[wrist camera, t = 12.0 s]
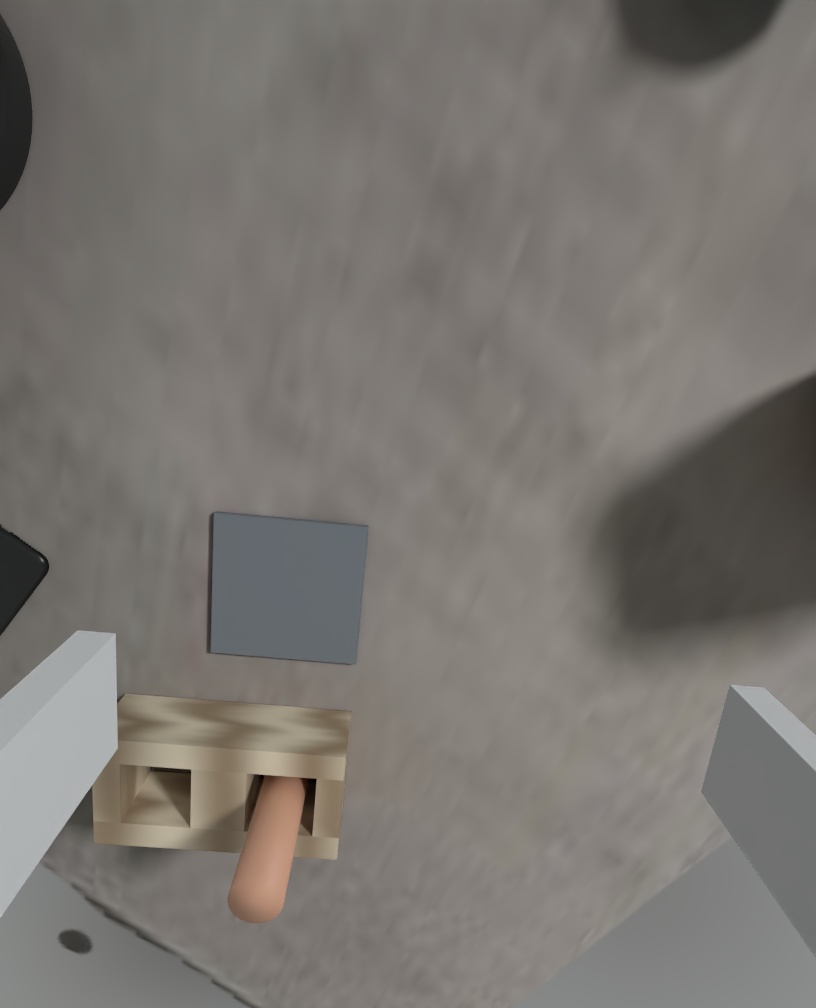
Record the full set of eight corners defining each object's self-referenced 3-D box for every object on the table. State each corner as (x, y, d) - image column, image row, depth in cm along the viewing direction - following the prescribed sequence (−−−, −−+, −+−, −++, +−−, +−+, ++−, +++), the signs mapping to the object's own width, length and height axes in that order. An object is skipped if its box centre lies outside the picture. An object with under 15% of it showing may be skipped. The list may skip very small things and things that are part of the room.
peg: (271, 770, 44) (226, 921, 33) (272, 735, 43) (228, 876, 32) (311, 773, 44) (282, 924, 33) (314, 738, 44) (284, 880, 32)
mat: (212, 649, 42) (210, 652, 41) (215, 511, 39) (213, 513, 39) (356, 661, 42) (355, 664, 42) (368, 525, 40) (368, 527, 39)
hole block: (126, 789, 44) (94, 843, 39) (125, 693, 42) (90, 738, 37) (343, 804, 45) (336, 859, 40) (351, 711, 43) (345, 757, 38)
